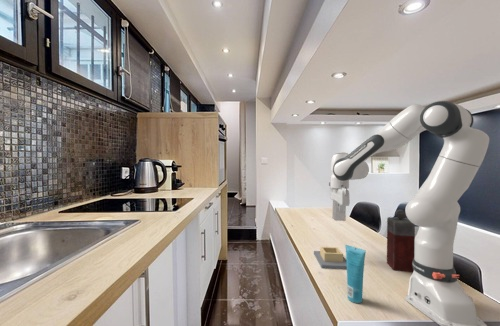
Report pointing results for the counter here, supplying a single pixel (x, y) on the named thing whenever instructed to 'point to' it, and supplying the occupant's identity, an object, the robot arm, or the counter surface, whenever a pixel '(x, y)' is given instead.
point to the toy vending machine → (400, 242)
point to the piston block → (336, 214)
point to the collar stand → (331, 258)
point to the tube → (355, 273)
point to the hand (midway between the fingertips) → (338, 211)
